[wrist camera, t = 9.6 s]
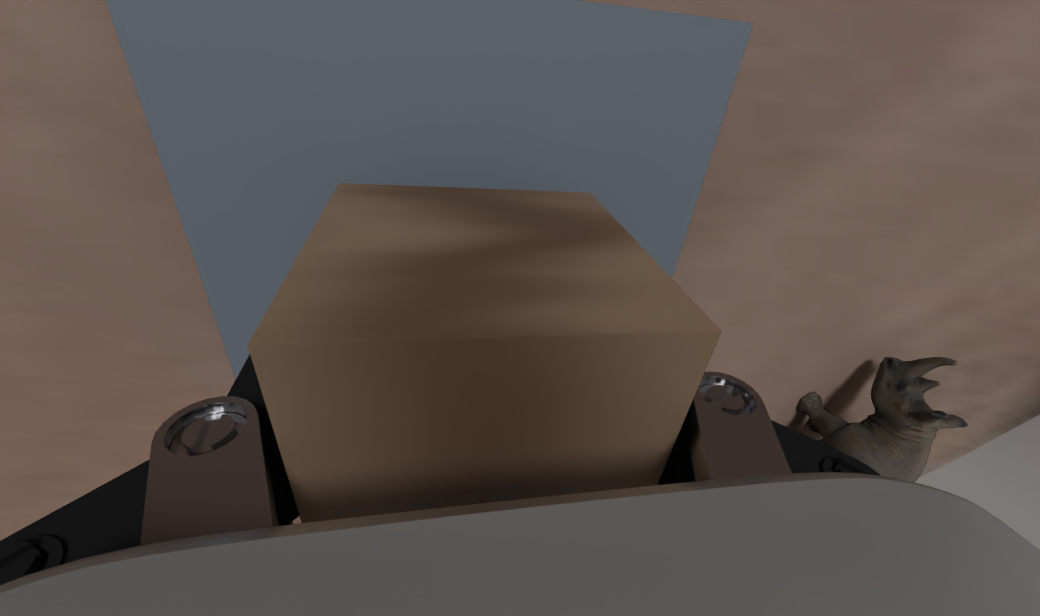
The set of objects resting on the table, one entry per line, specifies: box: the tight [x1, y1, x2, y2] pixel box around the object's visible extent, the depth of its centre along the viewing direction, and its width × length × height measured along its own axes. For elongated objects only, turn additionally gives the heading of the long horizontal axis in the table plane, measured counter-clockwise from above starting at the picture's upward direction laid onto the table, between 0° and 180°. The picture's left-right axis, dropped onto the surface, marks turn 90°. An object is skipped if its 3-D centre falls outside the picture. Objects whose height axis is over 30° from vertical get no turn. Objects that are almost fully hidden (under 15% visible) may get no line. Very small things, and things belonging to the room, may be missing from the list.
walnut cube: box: [247, 183, 721, 523], centre depth 10 cm, size 6×6×6 cm
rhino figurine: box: [797, 357, 968, 482], centre depth 25 cm, size 4×14×6 cm, turn 149°
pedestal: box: [105, 0, 753, 379], centre depth 15 cm, size 14×14×4 cm
